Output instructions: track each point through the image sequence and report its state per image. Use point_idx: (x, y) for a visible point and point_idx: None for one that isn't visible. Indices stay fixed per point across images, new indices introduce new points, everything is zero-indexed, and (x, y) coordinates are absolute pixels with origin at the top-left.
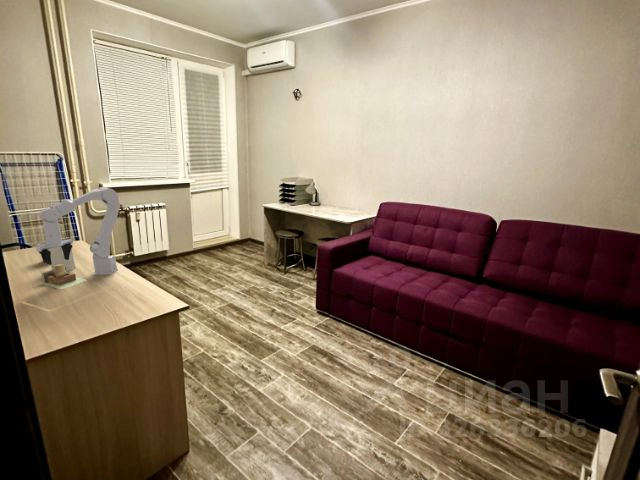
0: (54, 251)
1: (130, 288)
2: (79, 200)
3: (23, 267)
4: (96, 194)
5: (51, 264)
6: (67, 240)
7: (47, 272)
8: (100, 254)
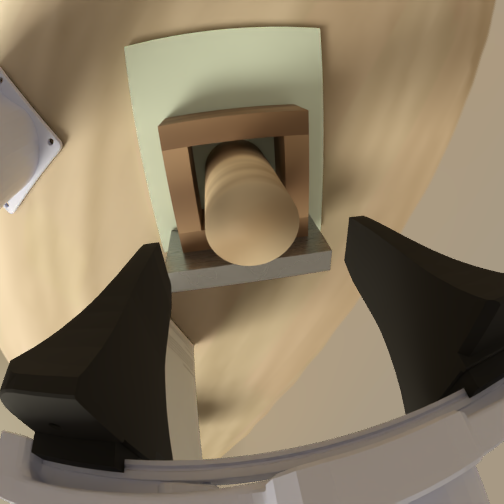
0: (176, 435)
1: None
2: None
3: (237, 417)
4: None
5: (352, 217)
6: None
7: (303, 253)
8: None
